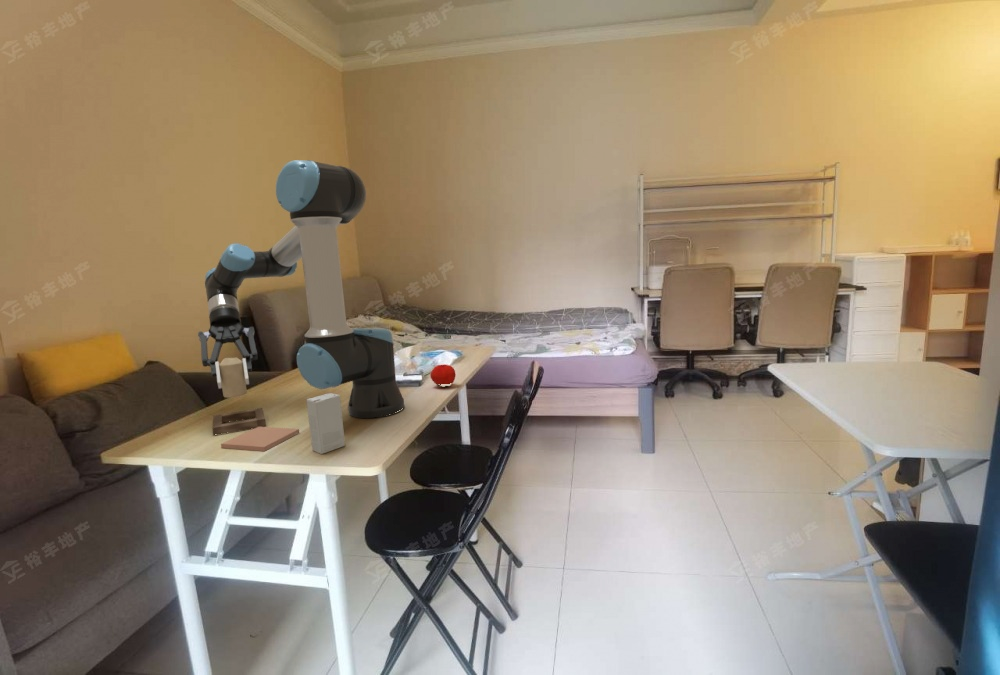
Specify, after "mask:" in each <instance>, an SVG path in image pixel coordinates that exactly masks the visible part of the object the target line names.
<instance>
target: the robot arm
mask: <svg viewBox="0 0 1000 675" xmlns="http://www.w3.org/2000/svg"><path fill="white" fill-rule="evenodd" d="M275 194H276V195H275V196H276V199H277V202H278V204H280V207H281V208H282V209H284V211H286V212H289V216H290V217H289V218H290V222H291V223H292V224H294V226H293V227H292V228H291V229H290V230H289V231H288V232H287V233H286V234H285V235H284V236H283V237H282V238H281V239H279V240H278V241H277V242H276V243H275V244H274V245H273V246H272V247H271V248H269V250H265V251H254V250H252V249H251V247H250V246H247V245H245V244H244V245H242V244H241V243H231V244H228V246H227V248H226V249H225V250H224V252H223V253H222V254H221V256H220V259H219V260H218V263H217V265H216V266H215V267H213V268H211V269H209V270H207V272H206V274H205V277H204V278H205V279H204V280H205V281H204V286H205V287H204V288H205V291H206V292H205V293H206V299H207V309H208V310H207V311H208V317H209V320H208V321H209V328H208V331H205V332H203V331H198V332H197V336H198V340H199V341H200V356H201V363H202V366H203V367H204V368H205V367H209V368H210V372H211V376H212V378H213V377H214V378H215V377H216V382H217V387H218V389H222V383H221V376H220V369H219V364H220V362H219V357H220V354H221V350H222V348H223V344H227V343H228V344H229V343H234V346H236V349H237V350H238V351H239V353H240V355H241V357H242V359H241V361H243V368H244V375H245V382H246V385H250V380H249V374H248V373H251V372H252V371H253V368H252V367H253V366H252V362H253V361H257V360H258V359H259V358H258V350H257V346H256V342H255V338H254V337H255V327H254V326H249V327H244V325H242V319H241V314H240V307H239V300H238V294H237V293H238V291H239V288H240V286H241V285H242V284H243V282H244V281H245V280H246V279H260V278H275V277H276V278H277V277H279V278H282V277H287V276H292V275H293V274H294V273H295V272H296V269H297V268H298V261H300V260H301V261H302V268H303V269H302V270H303V278H304V286H305V295H306V301H307V302H306V303H307V310H308V318H309V319H308V320H309V329H308V330H307V332H306V333H304V342H305V344H303V345H302V346H300V347H299V349H298V351H297V354H296V365H297V369H298V371H299V373H300V375H301V377H302V378H303V379H304V380H305V381H306V383H307V384H309V385H310V386H311V387H314V388H315V389H319V390H327V389H330V388H336V387H339V386H341V385H343V384H344V385H345V384H347V383H350V382H352V387H351V388H352V389H351V392H350V396H349V400H348V405H347V410H348V415H349V416H351V417H354V418H359V419H375V418H374V417H377V418H382V417H381V416H384V417H387V416H386V415H389V414H392V415H394V414H393V413H395V412H397V411H399V410H401V409H402V408H403V407H404V408H405V400H404V398H403V394H402V392H401V390H400V388H399V385H398V382H397V379H396V377H397V376H396V365H395V363H396V362H395V352H394V351H395V350H394V340H393V334H392V332H391V331H390V330H389V329H388V328H387V329H386V328H373V327H371V328H367V327H366V328H362V327H361V328H359V327H358V328H351V327H350V326H349V325H348V324H347V315H346V307H345V298H344V297H345V296H344V290H343V289H344V287H343V278H342V271H341V270H342V269H341V259H340V252H339V241H338V240H339V238H338V231H337V228H338V227H339V226H340V225H346V224H347V225H348V224H349V223H350V222H351V221H352V220H354V218H356V217H357V216H358V214H359V213H361V211H362V210H363V207H364V206H365V202H366V198H367V191H366V186H365V184H364V181H363V180H362V178H361V177H360V175H358V174H357V173H356V171H353V170H352V169H351V168H349V167H346V166H341V165H335V164H328V163H323V162H318V161H314V160H309V159H308V160H301V159H295V160H291V161H288V162H287V163H286V164H285V165H284V166H283V167H282V168H281V171H280V172H279V174H278V175H277V179H276V184H275ZM243 334H245V336H246V337H247V338H248V344H249V349H250V353H249V351H248V350H247V348H246V346H245V344H244V343H243V341H242V340H241V338H240V337H241V336H242V335H243ZM210 337H211V338H213V339H214V340H215V342H214V345H213V348H212V352H211V355H210V357H209V356H208V354H209V353H208V351H209V350H208V341H209V339H210ZM395 414H396V413H395ZM389 416H390V415H389Z"/></svg>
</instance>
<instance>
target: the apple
mask: <svg viewBox="0 0 1000 675" xmlns="http://www.w3.org/2000/svg"><path fill="white" fill-rule="evenodd" d="M430 379H431V381H432V382H433V383H434V384H435V385H436V384H440V385H441V384H450V383H452V384H453V383H454V381H455V379H456V370H455V369H454V367H453V366H452V365H450V364H444V363H443V364H438V365H436V366H434V367H433V369H432V370H431V371H430Z"/></svg>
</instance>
